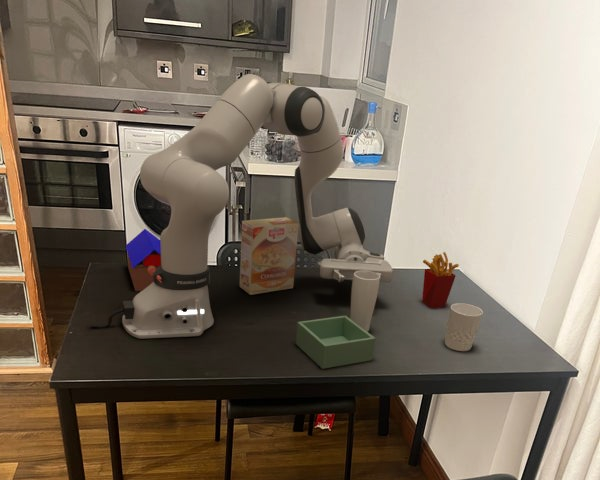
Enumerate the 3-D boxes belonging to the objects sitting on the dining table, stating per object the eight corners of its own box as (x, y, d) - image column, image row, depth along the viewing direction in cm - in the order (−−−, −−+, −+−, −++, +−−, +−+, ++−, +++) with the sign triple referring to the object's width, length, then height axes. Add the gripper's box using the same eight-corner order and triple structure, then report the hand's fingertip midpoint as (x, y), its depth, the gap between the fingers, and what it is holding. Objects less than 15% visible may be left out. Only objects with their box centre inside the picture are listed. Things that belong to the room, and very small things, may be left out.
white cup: (440, 337, 157) (448, 301, 151) (469, 340, 157) (478, 304, 152) (445, 351, 150) (454, 314, 145) (476, 353, 150) (486, 317, 145)
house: (166, 265, 186) (165, 228, 180) (177, 289, 170) (176, 249, 164) (126, 267, 182) (124, 228, 176) (134, 291, 166) (131, 250, 160)
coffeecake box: (250, 295, 171) (253, 227, 161) (238, 287, 176) (240, 220, 166) (294, 288, 178) (299, 222, 168) (281, 280, 183) (286, 216, 173)
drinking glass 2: (371, 326, 159) (380, 271, 152) (371, 336, 154) (380, 281, 146) (346, 323, 160) (353, 268, 152) (345, 333, 154) (353, 277, 146)
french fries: (449, 307, 175) (460, 257, 168) (425, 310, 172) (436, 259, 165) (432, 296, 182) (442, 248, 174) (409, 298, 179) (419, 249, 171)
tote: (322, 369, 136) (325, 346, 133) (295, 343, 146) (297, 321, 143) (372, 360, 142) (375, 338, 139) (343, 336, 152) (345, 315, 149)
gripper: (318, 250, 170) (321, 266, 158) (389, 255, 171) (397, 271, 159) (315, 271, 173) (319, 289, 161) (385, 276, 174) (394, 294, 163)
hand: (358, 280), depth 160 cm, fingers open, 8 cm apart
